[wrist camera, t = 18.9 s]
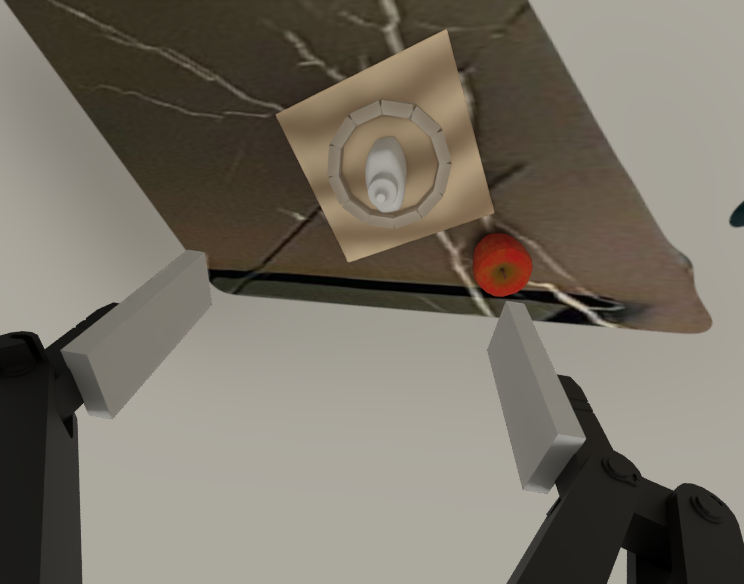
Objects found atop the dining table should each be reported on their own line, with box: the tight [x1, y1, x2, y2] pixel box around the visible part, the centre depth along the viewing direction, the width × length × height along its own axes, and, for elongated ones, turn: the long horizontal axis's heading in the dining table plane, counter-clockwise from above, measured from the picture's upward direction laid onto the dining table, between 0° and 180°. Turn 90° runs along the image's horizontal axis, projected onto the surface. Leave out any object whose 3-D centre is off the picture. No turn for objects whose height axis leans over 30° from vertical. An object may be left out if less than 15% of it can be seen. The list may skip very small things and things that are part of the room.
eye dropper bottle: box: [365, 136, 407, 213], centre depth 33 cm, size 4×6×12 cm
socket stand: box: [276, 29, 494, 262], centre depth 39 cm, size 18×18×4 cm
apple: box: [473, 233, 533, 296], centre depth 41 cm, size 6×6×8 cm
